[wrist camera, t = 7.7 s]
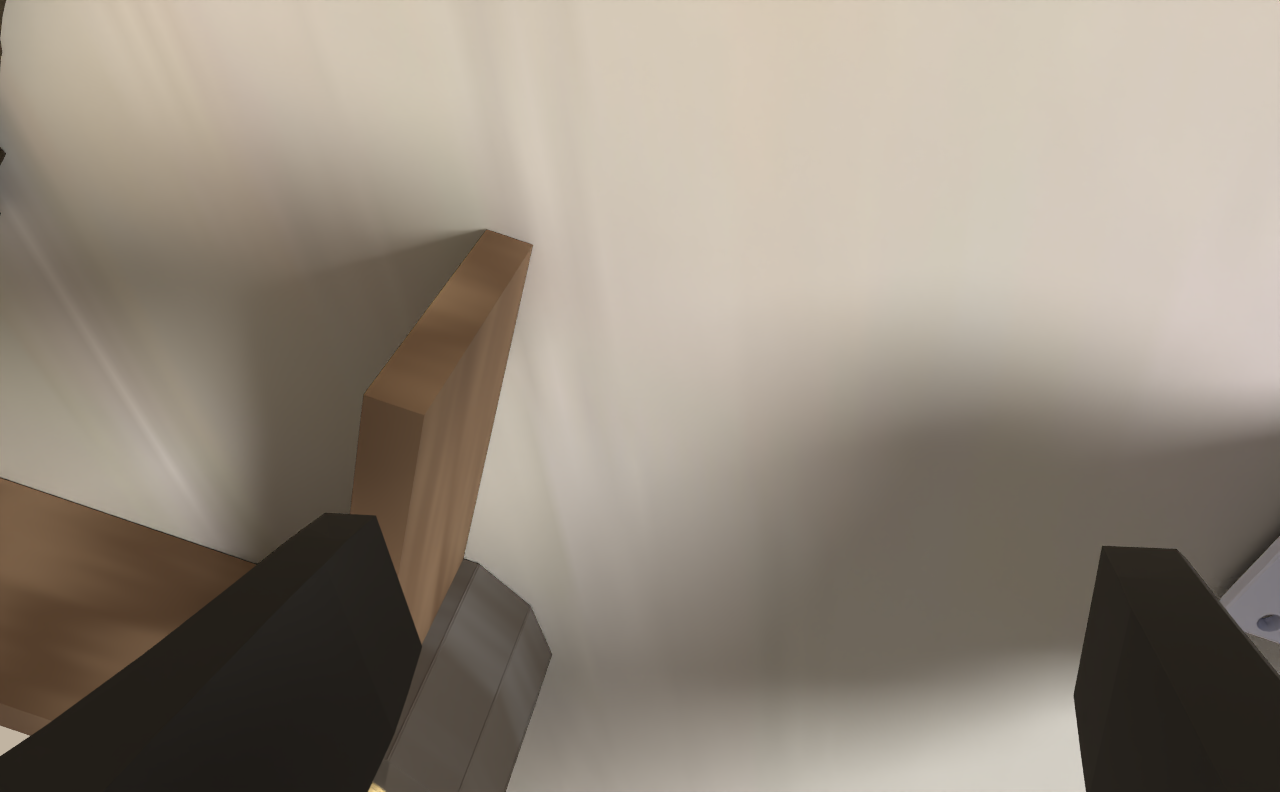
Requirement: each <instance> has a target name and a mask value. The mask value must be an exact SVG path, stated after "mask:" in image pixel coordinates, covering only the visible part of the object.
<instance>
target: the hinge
mask: <svg viewBox="0 0 1280 792" xmlns="http://www.w3.org/2000/svg"><path fill="white" fill-rule="evenodd" d="M532 247H533V245H531V244H528V243H525V242H522V241H519V240H516V239H514V238H511V237H508V236H505V235H502V234H499V233H496V232H493V231H490V230H486V231H485V232H484V234H483V235H482V236H481V238H480V239H479V240H478V242H477V243H476V244H475V246H474V247H473V248H472V250H471V251H470V252H469V254H468V255H467V256H466V258H465V259H464V260H463V262H462V263H461V264H460V266H459V267H458V268H457V270H456V271H455V273H454V274H453V275H452V277H451V278H450V279H449V281H448V282H447V283H446V285H445V286H444V287H443V289H442V290H441V291H440V293H439V294H438V295H437V297H436V298H435V299H434V301H433V302H432V303H431V305H430V306H429V307H428V309H427V310H426V311H425V313H424V314H423V315H422V317H421V318H420V320H419V321H418V322H417V324H416V325H415V326H414V328H413V329H412V330H411V332H410V333H409V334H408V336H407V337H406V338H405V340H404V341H403V342H402V344H401V345H400V346H399V348H398V349H397V350H396V352H395V353H394V354H393V356H392V357H391V358H390V360H389V361H388V362H387V364H386V365H385V366H384V368H383V369H382V371H381V372H380V373H379V375H378V376H377V377H376V379H375V380H374V381H373V383H372V384H371V385H370V387H369V388H368V389H367V391H366V392H365V393H364V395H363V403H362V412H361V421H360V429H359V438H358V447H357V456H356V465H355V474H354V483H353V492H352V501H351V509H350V514H358V515H376V517H377V520H378V523H379V525H380V528H381V531H382V534H383V537H384V539H385V542H386V545H387V548H388V551H389V554H390V556H391V559H392V562H393V565H394V568H395V571H396V573H397V576H398V579H399V582H400V585H401V588H402V590H403V593H404V596H405V599H406V602H407V605H408V607H409V610H410V613H411V616H412V619H413V621H414V624H415V627H416V630H417V633H418V636H419V638H420V641H421V644H422V649H421V653H420V656H419V659H418V663H417V666H416V669H415V672H414V676H413V679H412V682H411V686H410V689H409V692H408V695H407V698H406V701H405V704H404V707H403V710H402V713H401V716H400V719H399V722H398V725H397V728H396V731H395V734H394V736H393V738H392V740H391V743H390V745H389V747H388V749H387V752H386V754H385V756H384V758H383V760H382V763H381V765H380V767H379V769H378V771H377V773H376V776H375V778H374V780H373V782H374V783H375V784H376V785H378V786H379V787H381V788H382V789H384V790H385V791H386V792H506V789H507V786H508V783H509V780H510V777H511V774H512V771H513V768H514V765H515V763H516V760H517V757H518V754H519V751H520V748H521V745H522V742H523V739H524V736H525V733H526V730H527V727H528V724H529V721H530V719H531V716H532V713H533V710H534V707H535V704H536V701H537V698H538V695H539V691H540V688H541V685H542V682H543V679H544V677H545V674H546V671H547V668H548V665H549V662H550V659H551V656H552V653H551V651H550V649H549V647H548V645H547V642H546V640H545V638H544V636H543V633H542V631H541V629H540V626H539V624H538V622H537V620H536V617H535V615H534V613H533V611H532V608H531V606H530V605H528V604H527V603H526V602H525V601H523V600H522V599H521V598H520V597H519V596H517V595H516V594H515V593H514V592H512V591H511V590H510V589H509V588H508V587H506V586H505V585H504V584H503V583H501V582H500V581H499V580H498V579H497V578H495V577H494V576H493V575H492V574H490V573H489V572H488V571H487V570H485V569H484V568H483V567H482V566H481V565H480V564H477V563H474V562H471V561H468V560H465V559H463V558H464V554H465V549H466V544H467V540H468V535H469V531H470V526H471V522H472V517H473V513H474V508H475V504H476V499H477V495H478V490H479V486H480V481H481V477H482V472H483V468H484V463H485V459H486V454H487V450H488V445H489V441H490V436H491V432H492V427H493V423H494V418H495V414H496V409H497V405H498V400H499V396H500V391H501V387H502V382H503V378H504V373H505V369H506V364H507V360H508V355H509V351H510V346H511V342H512V337H513V333H514V328H515V324H516V319H517V315H518V310H519V306H520V301H521V297H522V292H523V287H524V283H525V278H526V274H527V269H528V265H529V260H530V256H531V251H532ZM255 566H256V564H253V563H250V562H247V561H244V560H241V559H238V558H235V557H232V556H229V555H226V554H223V553H220V552H217V551H215V550H212V549H209V548H206V547H203V546H200V545H197V544H194V543H191V542H188V541H185V540H182V539H179V538H176V537H173V536H170V535H167V534H164V533H161V532H158V531H155V530H152V529H149V528H146V527H144V526H141V525H138V524H135V523H132V522H129V521H126V520H123V519H120V518H117V517H114V516H111V515H108V514H105V513H102V512H99V511H96V510H93V509H90V508H87V507H84V506H81V505H78V504H75V503H73V502H70V501H67V500H64V499H61V498H58V497H55V496H52V495H49V494H46V493H43V492H40V491H37V490H34V489H31V488H28V487H25V486H22V485H19V484H16V483H13V482H10V481H7V480H4V479H1V478H0V725H1V726H4V727H7V728H9V729H12V730H16V731H18V732H21V733H24V734H27V735H30V736H31V735H33V734H34V733H35V732H37V731H38V730H40V729H41V728H43V727H44V726H46V725H47V724H48V723H50V722H51V721H52V720H54V719H55V718H57V717H58V716H59V715H61V714H62V713H63V712H65V711H66V710H68V709H69V708H70V707H72V706H73V705H74V704H76V703H77V702H78V701H80V700H81V699H83V698H84V697H85V696H87V695H88V694H89V693H91V692H92V691H93V690H95V689H96V688H98V687H99V686H100V685H102V684H103V683H104V682H106V681H107V680H109V679H110V678H111V677H113V676H114V675H115V674H117V673H118V672H119V671H121V670H122V669H124V668H125V667H126V666H128V665H129V664H130V663H132V662H133V661H135V660H136V659H137V658H139V657H140V656H141V655H143V654H144V653H145V652H147V651H148V650H149V649H151V648H152V647H153V646H154V645H156V644H157V643H158V642H160V641H161V640H162V639H163V638H165V637H166V636H167V635H168V634H170V633H171V632H172V631H174V630H175V629H176V628H177V627H179V626H180V625H181V624H182V623H184V622H185V621H186V620H188V619H189V618H190V617H191V616H193V615H194V614H195V613H196V612H198V611H199V610H200V609H202V608H203V607H204V606H205V605H207V604H208V603H209V602H211V601H212V600H213V599H214V598H216V597H217V596H218V595H219V594H221V593H222V592H223V591H224V590H226V589H227V588H228V587H229V586H231V585H232V584H233V583H235V582H236V581H237V580H238V579H240V578H241V577H242V576H243V575H245V574H246V573H247V572H248V571H250V570H251V569H252V568H253V567H255Z"/></svg>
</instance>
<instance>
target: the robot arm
mask: <svg viewBox="0 0 1280 792" xmlns="http://www.w3.org/2000/svg"><path fill="white" fill-rule="evenodd" d="M1271 614H1273V616H1271V617H1267V618H1262V617H1263V616H1266V615H1271ZM1244 632H1246V633H1249V634H1252V635H1255V636H1258V637H1261V638H1264V639H1267V640H1270V641H1273V642H1276V643H1279V644H1280V536H1279V537H1278V538H1277V539H1276V540H1275V541H1274V543H1273V544H1272V545H1271V546H1270V547H1269V548H1268V549H1267V550H1266V551H1265V552H1264V553H1263V554H1262V555H1261V556H1260V557H1259V558H1258V559H1257V560H1256V561H1255V562H1254V563H1253V565H1252V566H1251V567H1250V568H1249V569H1248V570H1247V571H1246V572H1245V573H1244V574H1243V575H1242V576H1241V577H1240V578H1239V579H1238V580H1237V581H1236V582H1235V583H1234V584H1233V585H1232V587H1231V588H1230V589H1229V590H1228V591H1227V592H1226V593H1225V594H1224V595H1223V596H1222V597H1221V599H1220V601H1219V600H1218V599H1217V597H1216V596H1215V595H1214V593H1213V592H1212V591H1211V590H1210V588H1209V587H1208V586H1207V584H1206V583H1205V582H1204V581H1203V579H1202V578H1201V577H1200V575H1199V574H1198V573H1197V572H1196V570H1195V569H1194V568H1193V566H1192V565H1191V564H1190V563H1189V561H1188V560H1187V559H1186V558H1185V557H1184V556H1183V555H1182V554H1181V553H1180V552H1179V551H1178V550H1177V549H1162V548H1138V547H1115V546H1102V550H1101V555H1100V560H1099V566H1098V571H1097V576H1096V581H1095V587H1094V592H1093V597H1092V602H1091V607H1090V613H1089V618H1088V623H1087V628H1086V633H1085V639H1084V644H1083V649H1082V654H1081V659H1080V665H1079V670H1078V675H1077V680H1076V685H1075V691H1074V702H1075V710H1076V718H1077V727H1078V735H1079V743H1080V751H1081V758H1082V766H1083V773H1084V780H1085V787H1086V792H1280V675H1279V674H1278V673H1277V672H1276V671H1275V669H1274V668H1273V667H1272V666H1271V664H1270V663H1269V662H1268V661H1267V660H1266V658H1265V657H1264V656H1263V655H1262V653H1261V652H1260V651H1259V650H1258V649H1257V647H1256V646H1255V645H1254V644H1253V642H1252V641H1251V640H1250V639H1249V638H1248V636H1247V635H1246V634H1245V633H1244ZM421 649H422V644H421V641H420V638H419V636H418V633H417V630H416V627H415V624H414V621H413V619H412V616H411V613H410V610H409V607H408V605H407V602H406V599H405V596H404V593H403V590H402V588H401V585H400V582H399V579H398V576H397V573H396V571H395V568H394V565H393V562H392V559H391V556H390V554H389V551H388V548H387V545H386V542H385V539H384V537H383V534H382V531H381V528H380V525H379V523H378V520H377V517H376V515H358V514H335V513H324V514H323V515H322V516H320V517H319V518H317V519H316V520H315V521H313V522H312V523H310V524H309V525H308V526H306V527H305V528H304V529H302V530H301V531H300V532H298V533H297V534H296V535H294V536H293V537H292V538H290V539H289V540H288V541H286V542H285V543H284V544H283V545H281V546H280V547H279V548H277V549H276V550H275V551H274V552H272V553H271V554H270V555H269V556H267V557H266V558H265V559H263V560H262V561H261V562H260V563H258V564H257V565H256V566H255V567H253V568H252V569H251V570H250V571H248V572H247V573H246V574H245V575H243V576H242V577H241V578H240V579H238V580H237V581H236V582H235V583H233V584H232V585H231V586H229V587H228V588H227V589H226V590H224V591H223V592H222V593H221V594H219V595H218V596H217V597H216V598H214V599H213V600H212V601H211V602H209V603H208V604H207V605H205V606H204V607H203V608H202V609H200V610H199V611H198V612H196V613H195V614H194V615H193V616H191V617H190V618H189V619H188V620H186V621H185V622H184V623H182V624H181V625H180V626H179V627H177V628H176V629H175V630H174V631H172V632H171V633H170V634H168V635H167V636H166V637H165V638H163V639H162V640H161V641H160V642H158V643H157V644H156V645H154V646H153V647H152V648H151V649H149V650H148V651H147V652H145V653H144V654H143V655H141V656H140V657H139V658H137V659H136V660H135V661H133V662H132V663H130V664H129V665H128V666H126V667H125V668H124V669H122V670H121V671H119V672H118V673H117V674H115V675H114V676H113V677H111V678H110V679H109V680H107V681H106V682H104V683H103V684H102V685H100V686H99V687H98V688H96V689H95V690H93V691H92V692H91V693H89V694H88V695H87V696H85V697H84V698H83V699H81V700H80V701H78V702H77V703H76V704H74V705H73V706H72V707H70V708H69V709H68V710H66V711H65V712H63V713H62V714H61V715H59V716H58V717H57V718H55V719H54V720H52V721H51V722H50V723H48V724H47V725H46V726H44V727H43V728H41V729H40V730H38V731H37V732H35V733H34V734H33V735H31V736H30V737H29V738H27V739H25V740H24V741H22V742H21V743H19V744H18V745H16V746H15V747H13V748H12V749H11V750H9V751H7V752H6V753H5V754H3V755H1V756H0V792H368V791H369V789H370V786H371V784H372V782H373V780H374V778H375V776H376V773H377V771H378V769H379V767H380V765H381V763H382V760H383V758H384V756H385V754H386V752H387V749H388V747H389V745H390V743H391V740H392V738H393V736H394V734H395V731H396V728H397V725H398V722H399V719H400V716H401V713H402V710H403V707H404V704H405V701H406V698H407V695H408V692H409V689H410V686H411V682H412V679H413V676H414V672H415V669H416V666H417V663H418V659H419V656H420V653H421Z"/></svg>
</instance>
